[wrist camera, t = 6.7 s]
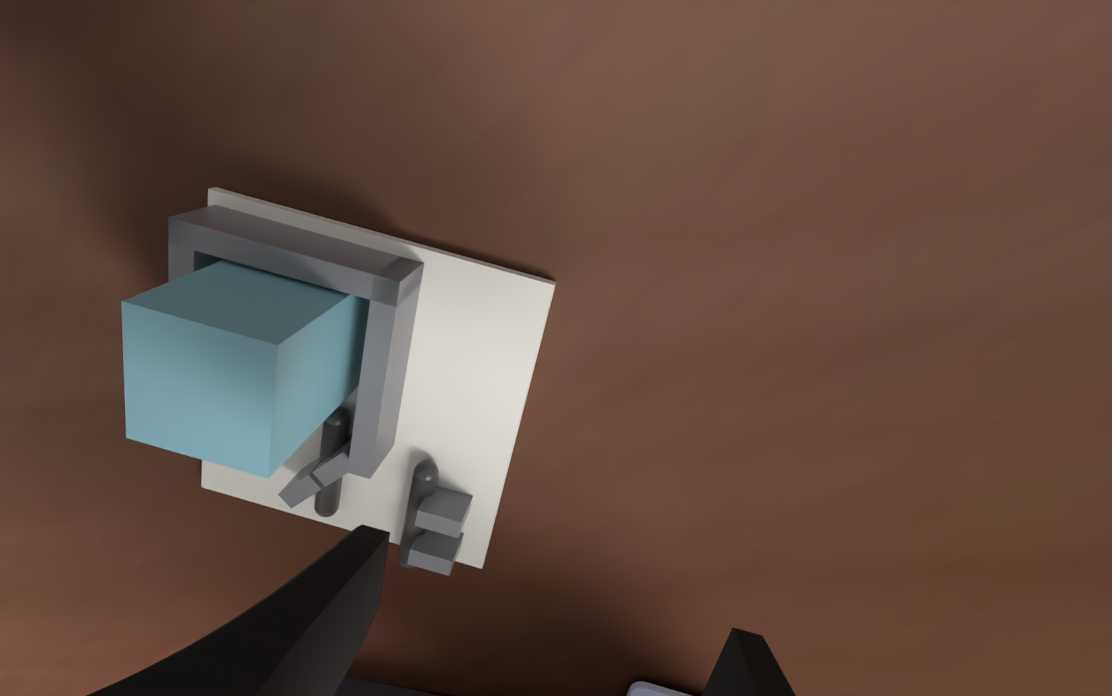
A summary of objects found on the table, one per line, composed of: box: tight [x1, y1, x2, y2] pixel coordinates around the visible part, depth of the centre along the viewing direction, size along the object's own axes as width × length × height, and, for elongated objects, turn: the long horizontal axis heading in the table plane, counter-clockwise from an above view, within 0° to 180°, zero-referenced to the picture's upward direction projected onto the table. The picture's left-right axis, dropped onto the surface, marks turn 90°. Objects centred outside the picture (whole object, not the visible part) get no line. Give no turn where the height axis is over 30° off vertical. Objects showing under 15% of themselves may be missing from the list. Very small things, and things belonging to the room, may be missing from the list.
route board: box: [201, 187, 556, 576], centre depth 22 cm, size 12×12×2 cm
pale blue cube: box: [121, 259, 370, 479], centre depth 19 cm, size 5×4×6 cm
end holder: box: [168, 205, 424, 479], centre depth 21 cm, size 7×7×3 cm
